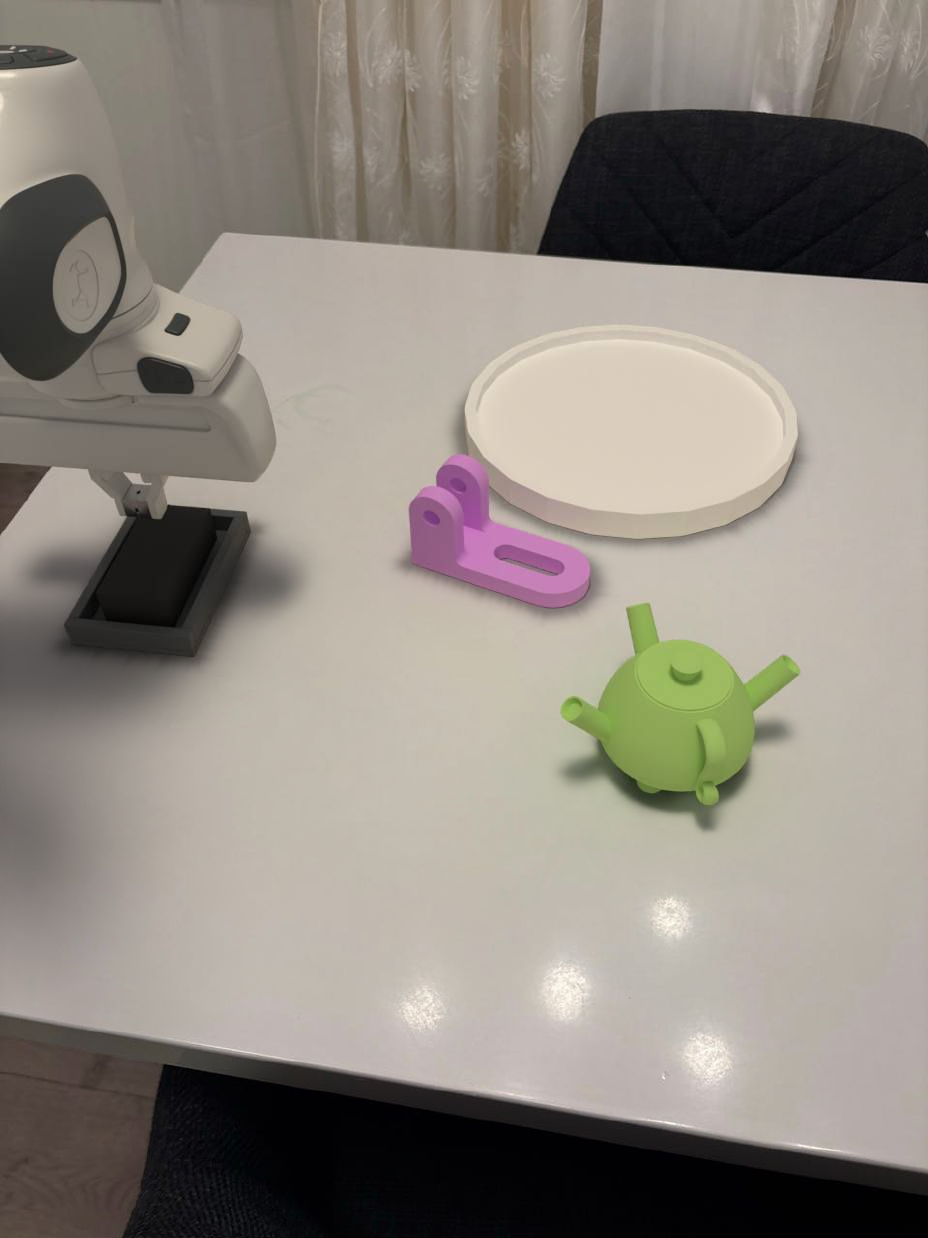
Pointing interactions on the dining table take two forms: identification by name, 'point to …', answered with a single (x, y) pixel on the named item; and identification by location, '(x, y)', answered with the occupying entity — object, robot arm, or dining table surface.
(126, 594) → the black rectangular block
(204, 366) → the robot arm
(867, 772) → the dining table surface
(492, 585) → the bracket
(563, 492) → the plate
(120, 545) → the base tray
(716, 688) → the teapot
